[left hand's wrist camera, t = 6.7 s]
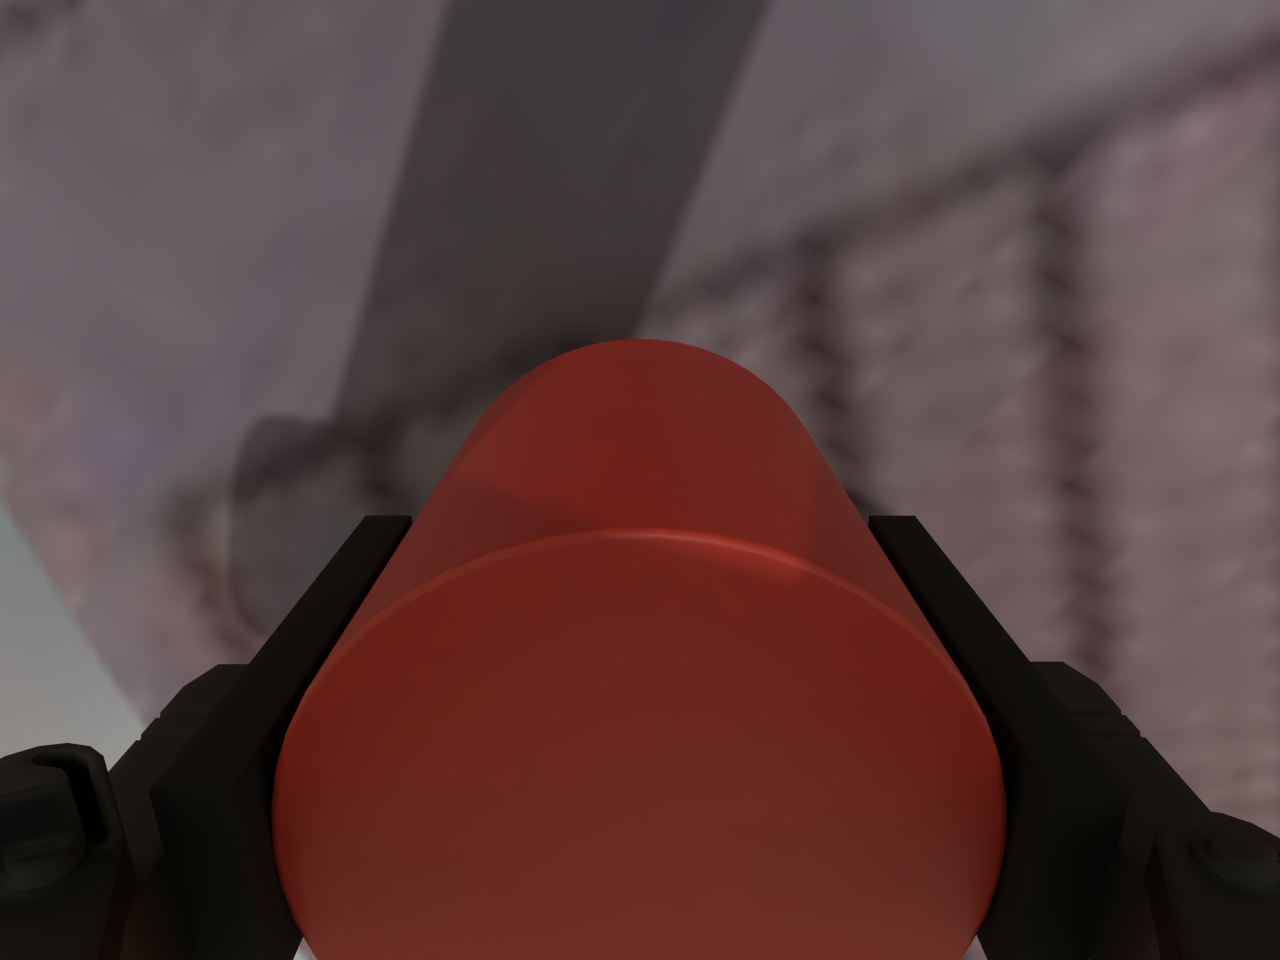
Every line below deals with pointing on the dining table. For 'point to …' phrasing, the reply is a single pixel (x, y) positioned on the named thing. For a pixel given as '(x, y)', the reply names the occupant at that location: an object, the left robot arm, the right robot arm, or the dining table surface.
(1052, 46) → the dining table surface
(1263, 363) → the dining table surface
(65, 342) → the dining table surface
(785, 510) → the canister
